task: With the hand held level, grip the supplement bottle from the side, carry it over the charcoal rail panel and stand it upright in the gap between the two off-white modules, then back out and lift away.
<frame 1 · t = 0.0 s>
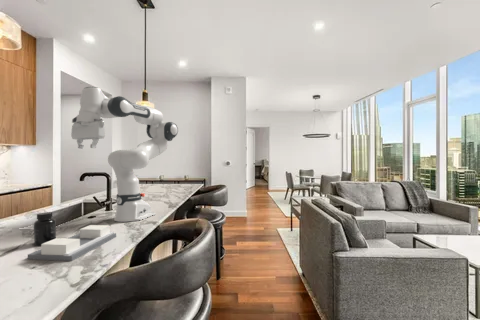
hand: (86, 148, 112), 39 cm above the countertop, fingers open, 8 cm apart
supplement bottle: (45, 243, 95), on the countertop
rail panel: (77, 246, 91), on the countertop
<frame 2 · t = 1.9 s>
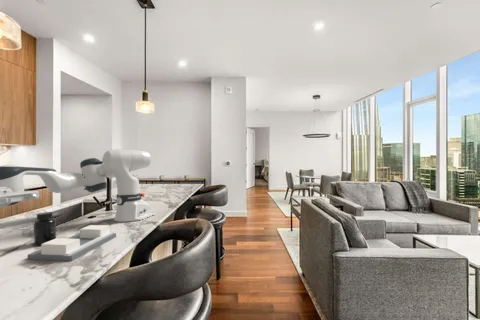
hand: (22, 198, 98), 17 cm above the countertop, fingers open, 8 cm apart
nothing on the countertop moved.
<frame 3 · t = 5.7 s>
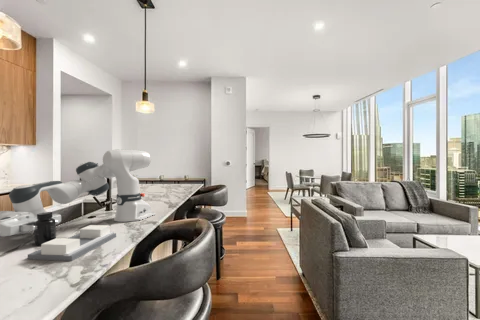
hand: (46, 225, 94), 7 cm above the countertop, fingers closed on supplement bottle, 7 cm apart
supplement bottle: (45, 243, 95), on the countertop, touching gripper
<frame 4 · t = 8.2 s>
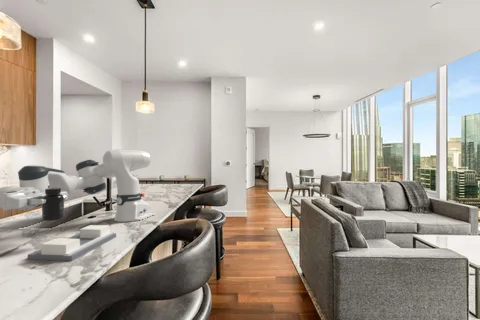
hand: (55, 199, 92), 18 cm above the countertop, fingers closed on supplement bottle, 7 cm apart
supplement bottle: (53, 219, 93), point 10 cm above the countertop, touching gripper
when the fingers open (10 cm above the countertop, at t = 10.9 s): supplement bottle stays where it is, resting on rail panel.
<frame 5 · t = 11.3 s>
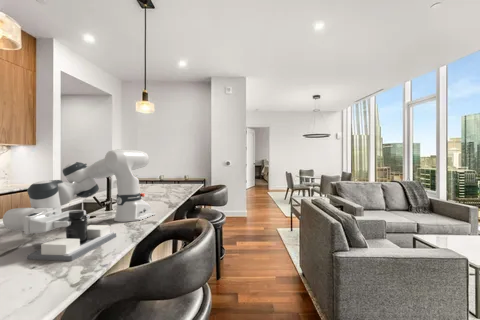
hand: (79, 220, 90), 10 cm above the countertop, fingers open, 8 cm apart
supplement bottle: (76, 243, 91), point 1 cm above the countertop, touching rail panel
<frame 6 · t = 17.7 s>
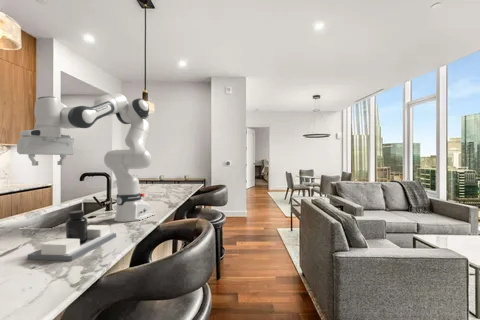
hand: (48, 165, 102), 31 cm above the countertop, fingers open, 8 cm apart
nothing on the countertop moved.
at the end: supplement bottle 0.1 cm off-centre on the rail panel, point 1.3 cm above the rail panel's base; supplement bottle tilted 0°; the gripper is holding nothing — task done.
